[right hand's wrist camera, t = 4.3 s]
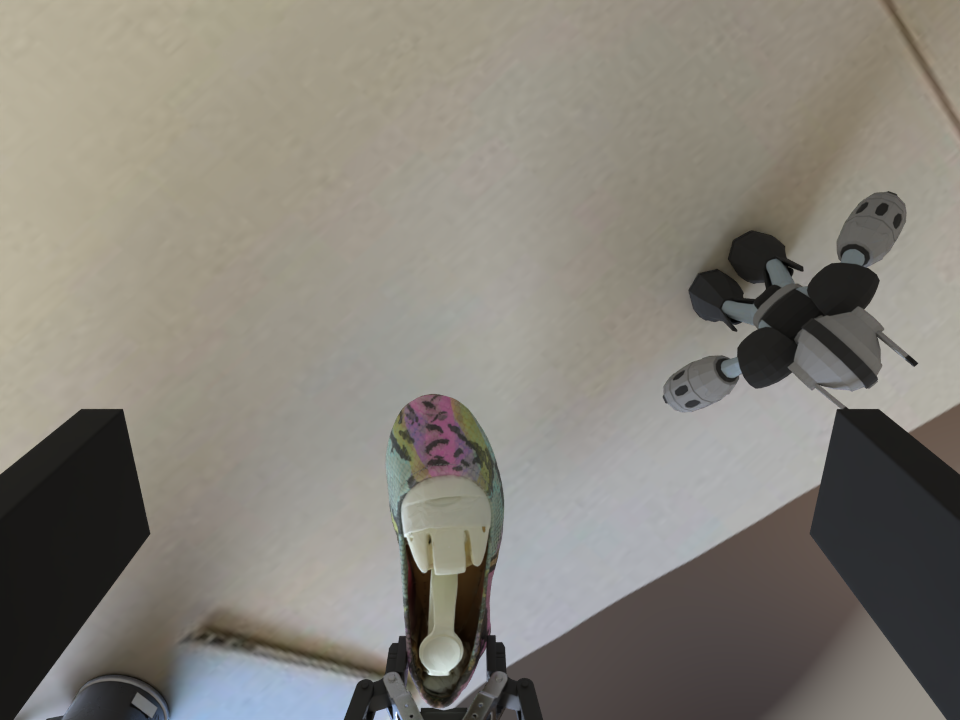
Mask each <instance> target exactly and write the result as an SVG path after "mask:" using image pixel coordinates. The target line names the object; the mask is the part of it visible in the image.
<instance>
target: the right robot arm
mask: <svg viewBox="0 0 960 720" xmlns="http://www.w3.org/2000/svg"><path fill="white" fill-rule="evenodd" d="M149 535H150V530H149V526H148V521H147V517H146V512H145V507H144V503H143V498H142V494H141V489H140V485H139V480H138V476H137V471H136V466H135V462H134V457H133V453H132V448H131V444H130V439H129V434H128V430H127V425H126V421H125V416H124V412H123V409H81V410H80V411H78V412H77V413H76V414H75V415H73V416H72V417H71V418H70V419H69V420H67V421H66V422H65V423H64V424H62V425H61V426H60V427H59V428H57V429H56V430H55V431H54V432H52V433H51V434H50V435H49V436H47V437H46V438H45V439H44V440H43V441H41V442H40V443H39V444H38V445H36V446H35V447H34V448H33V449H31V450H30V451H29V452H28V453H26V454H25V455H24V456H23V457H21V458H20V459H19V460H18V461H17V462H15V463H14V464H13V465H12V466H10V467H9V468H8V469H7V470H5V471H4V472H3V473H2V474H0V720H13V719H14V718H15V717H16V715H17V714H18V713H19V711H20V710H21V708H22V707H23V706H24V704H25V703H26V702H27V700H28V699H29V698H30V696H31V695H32V694H33V692H34V691H35V689H36V688H37V687H38V685H39V684H40V683H41V681H42V680H43V679H44V677H45V676H46V675H47V673H48V672H49V670H50V669H51V668H52V666H53V665H54V664H55V662H56V661H57V660H58V658H59V657H60V656H61V654H62V653H63V652H64V650H65V649H66V647H67V646H68V645H69V643H70V642H71V641H72V639H73V638H74V637H75V635H76V634H77V633H78V631H79V630H80V628H81V627H82V626H83V624H84V623H85V622H86V620H87V619H88V618H89V616H90V615H91V614H92V612H93V611H94V609H95V608H96V607H97V605H98V604H99V603H100V601H101V600H102V599H103V597H104V596H105V595H106V593H107V592H108V590H109V589H110V588H111V586H112V585H113V584H114V582H115V581H116V580H117V578H118V577H119V576H120V574H121V573H122V572H123V570H124V569H125V567H126V566H127V565H128V563H129V562H130V561H131V559H132V558H133V557H134V555H135V554H136V553H137V551H138V550H139V548H140V547H141V546H142V544H143V543H144V542H145V540H146V539H147V538H148V536H149ZM810 535H811V536H812V538H813V539H814V540H815V542H816V543H817V544H818V546H819V547H820V548H821V550H822V551H823V553H824V554H825V555H826V557H827V558H828V559H829V561H830V562H831V563H832V565H833V566H834V567H835V569H836V570H837V572H838V573H839V574H840V576H841V577H842V578H843V580H844V581H845V582H846V584H847V585H848V586H849V588H850V589H851V590H852V592H853V593H854V595H855V596H856V597H857V598H858V600H859V601H860V603H861V604H862V605H863V607H864V608H865V609H866V611H867V612H868V614H869V615H870V616H871V618H872V619H873V620H874V622H875V623H876V624H877V626H878V627H879V628H880V630H881V631H882V632H883V634H884V635H885V637H886V638H887V639H888V641H889V642H890V643H891V645H892V646H893V647H894V649H895V650H896V652H897V653H898V654H899V656H900V657H901V658H902V660H903V661H904V662H905V664H906V665H907V666H908V668H909V669H910V670H911V672H912V673H913V675H914V676H915V677H916V679H917V680H918V681H919V683H920V684H921V685H922V687H923V688H924V689H925V691H926V692H927V693H928V695H929V696H930V698H931V699H932V700H933V702H934V703H935V704H936V706H937V707H938V708H939V710H940V711H941V712H942V714H943V715H944V717H945V718H946V719H947V720H960V474H958V473H957V472H956V471H955V470H953V469H952V468H951V467H950V466H948V465H947V464H946V463H945V462H943V461H942V460H941V459H940V458H939V457H937V456H936V455H935V454H934V453H932V452H931V451H930V450H929V449H927V448H926V447H925V446H924V445H922V444H921V443H920V442H919V441H917V440H916V439H915V438H914V437H913V436H911V435H910V434H909V433H908V432H906V431H905V430H904V429H903V428H901V427H900V426H899V425H898V424H896V423H895V422H894V421H893V420H891V419H890V418H889V417H888V416H887V415H885V414H884V413H883V412H882V411H880V410H879V409H837V412H836V416H835V421H834V425H833V430H832V434H831V439H830V444H829V448H828V453H827V457H826V462H825V466H824V471H823V475H822V480H821V485H820V489H819V494H818V498H817V503H816V507H815V512H814V517H813V521H812V526H811V530H810Z"/></svg>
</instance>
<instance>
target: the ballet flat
mask: <svg viewBox="0 0 960 720" xmlns="http://www.w3.org/2000/svg"><path fill="white" fill-rule="evenodd" d="M386 473H387V483H388V492H389V503H390V511H391V517H392V523H393V526H394V530H395V532H396V534H397V539H398V543H399V548H400V559H401V573H402V587H403V606H404V618H405V630H406V649H407V661H408V666H409V671H410V674H411V677H412V680H413V682H414V684H415V686H416V688H417V690H418V691H419V693H420V695H421V697H422V698H423V699H424V700H425V702H426V703H427V704H429V705H430V706H431V707H433V708H445V707H447V706H449V705H451V704H452V703H453V702H454V701H455V700H456V699H457V698H458V697H459V695H460V693H461V692H462V691H463V690H464V689H465V688H466V686H467V685H468V683H469V681H470V680H471V678H472V676H473V673H474V671H475V669H476V666H477V664H478V661H479V659H480V657H481V656H482V654H483V653H484V651H485V649H486V635H490V633H491V624H490V604H489V602H490V590H491V582H492V577H493V574H494V570H495V566H496V563H497V559H498V553H499V548H500V544H501V539H502V533H503V519H504V495H503V488H502V482H501V478H500V473H499V470H498V467H497V462H496V459H495V456H494V453H493V450H492V447H491V445H490V443H489V440H488V438H487V436H486V435H485V433H484V431H483V429H482V428H481V426H480V425H479V423H478V422H477V420H476V418H475V417H474V416H473V414H472V413H471V412H470V411H469V409H468V408H466V407H465V406H464V405H463V404H461V403H460V402H459V401H457V400H455V399H453V398H450V397H447V396H443V395H437V394H430V395H424V396H421V397H419V398H416V399H415V400H413V401H411V402H410V403H408V404H407V405H406V406H405V407H404V408H403V409H402V410H401V412H400V413H399V415H398V417H397V419H396V421H395V423H394V426H393V428H392V431H391V434H390V438H389V442H388V447H387V453H386Z"/></svg>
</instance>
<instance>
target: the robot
mask: <svg viewBox="0 0 960 720" xmlns="http://www.w3.org/2000/svg"><path fill="white" fill-rule="evenodd" d="M905 222H906V207H905V203H904V202H903V201H902V200H901V199H900V198H899V197H898V196H897V194H895V193H892V192H889V191H888V192H880V193H874V194H872V195H871V196H869V197H867V198H866V199H864V200H863V201H861V202H860V203H859V204H858V206H857V207H856V208H855V209H854V211H853V212H852V213H851V214H850V216H849V217H848V219H847V220H846V222H845V224H844V226H843V228H842V230H841V232H840V235H839V237H838V239H837V254H838V258H839V260H840V261H841V263H831V264H830V265H828V266H826V267H824V268H823V269H822V270H821V271H820V272H818V273H817V274H816V275H815V276H814V277H813V278H812V280H811V282H810V283H809V285H808V287H802V286H801V285H799V284H795V283H794V281H793V279H792V275H793V269H792V268H794V269H796V270H799V271H803V266H801V265H799V264H797V263H795V262H793V261H791V260H789V259H787V258H786V253H785V246H784V245H783V244H782V243H781V242H780V241H779V240H777V239H776V238H774V237H773V236H771V235H767V234H764V233H760V232H756V231H752V230H751V231H749V232H747V233H746V234H744V235H742V236H740V237H738V238H736V239H735V240H733V243H732V247H731V250H730V254H729V258H728V260H729V261H730V263H731V264H732V266H733V268H734V269H735V271H736V272H737V274H738V275H739V276H740V277H741V278H743V279H744V280H746V281H747V282H750V283H753V284H755V283H764V282H765V286H766V290H765V291H764V292H763V293H762V294H761V295H760V296H759V297H757V298H756V299H746V298H743V294H744V293H743V291H742V289H741V287H740V286H739V284H738V283H737V282H736V281H735V280H733V279H732V278H730V277H729V276H727V275H726V274H724V273H722V272H721V271H719V270H718V269H716V270H712V271H708V272H703V273H699V274H698V275H697V277H696V279H695V280H694V282H693V284H692V285H691V287H690V289H689V294H690V298H691V302H692V305H693V309H694V310H695V312H696V313H697V314H698V315H699V317H701V318H702V319H704V320H709V321H713V322H717V321H724V322H725V323H726V324H727V326H728V327H729V328H730V329H731V330H732V331H736V332H737V329H736V328H735V327H734V326H733V325H736V324H739V323H741V322H745V323H748V324H751V325H755V326H756V327H757V328H758V330H756V331H754V332H752V333H751V334H750V335H749V336H747V337H746V338H745V339H744V340H743V341H742V342H741V344H740V345H739V347H738V350H737V357H736V358H732V359H730V358H728V357H725V356H709V357H705V358H702V359H701V360H698V361H694V362H692V363H690V364H688V365H686V366H685V367H683V368H681V369H680V370H679V371H677V372H676V373H674V374H673V375H672V376H671V377H670V378H669V379H668V380H667V382H666V384H665V385H664V395H663V399H664V401H665V403H668V404H669V405H670V406H671V407H672V408H673V409H674V410H677V411H680V412H692V411H695V410H698V409H701V408H704V407H706V406H709V405H711V404H713V403H715V402H717V401H719V400H721V399H722V398H723V397H725V396H726V395H727V394H729V393H730V392H731V391H732V389H733V388H734V386H735V385H736V383H737V381H738V380H739V375H740V374H743V376H744V378H745V379H746V381H747V382H748V383H749V384H750V385H751V386H752V387H754V388H763V387H767V386H769V385H772V384H774V383H777V382H779V381H780V380H782V379H784V378H785V377H787V376H788V375H789V374H791V373H792V372H793V373H794V374H795V375H796V376H797V377H798V378H799V379H800V380H801V381H802V382H803V383H804V384H805V385H806V386H807V387H808V388H809V389H811V390H813V389H814V388H816V389H817V390H819V391H820V392H821V393H822V394H823V395H825V396H826V397H827V398H828V399H830V400H831V401H832V402H833V403H835V404H836V405H837V406H838V407H839V408H841V409H848V408H847V407H846V406H844V405H843V404H842V403H841V402H839V401H838V400H837V399H836V398H834V397H833V396H832V395H831V394H829V393H828V392H827V391H826V390H824V389H823V388H822V387H821V386H825V387H828V388H832V389H840V390H850V391H855V390H857V389H860V388H863V387H865V388H866V389H867V388H868V389H870V388H871V387H872V386H873V385H874V384H876V383H877V382H878V381H877V380H878V378H877V374H878V373H879V371H880V369H881V367H882V364H881V350H880V346H879V342H878V338H880V339H881V340H882V341H883V342H884V343H886V344H887V345H888V346H889V347H890V348H892V349H893V350H894V351H895V352H897V353H898V354H899V355H900V356H901V357H903V358H904V359H905V360H906V361H907V362H909V363H910V364H911V365H912V366H916V365H917V364H918V363H917V362H916V361H915V360H914V359H913V358H912V357H910V356H909V355H908V354H907V353H906V352H905V351H903V350H902V349H901V348H900V347H899V346H898V345H896V344H895V343H894V342H893V341H892V340H890V339H889V338H888V337H887V336H886V335H885V334H883V333H882V331H883V330H884V328H883V326H882V325H881V324H880V323H879V322H878V321H877V320H876V319H875V318H874V317H873V316H871V315H870V314H869V313H868V312H867V311H865V310H864V309H865V308H866V307H867V305H868V304H869V303H870V301H871V300H872V298H873V296H874V294H875V292H876V290H877V287H878V284H879V281H880V280H879V278H878V276H877V274H875V273H874V272H873V271H871V270H870V269H869V268H866V267H868V266H870V265H872V264H874V263H876V262H878V261H880V260H882V259H883V257H884V256H885V255H886V254H887V253H888V252H889V251H890V249H891V248H892V246H893V245H894V243H895V241H896V240H897V238H898V236H899V234H900V232H901V230H902V228H903V226H904V224H905ZM788 266H789V267H788ZM790 267H791V268H790ZM877 337H878V338H877ZM819 385H821V386H819Z"/></svg>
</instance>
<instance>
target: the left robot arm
mask: <svg viewBox="0 0 960 720" xmlns="http://www.w3.org/2000/svg"><path fill="white" fill-rule="evenodd" d="M486 660H487V684H486V685H485V687H484V689H483V690H482V692H481V691H479V692H478V694H477V695H476V697H475V699H474V700H473V702H472V704H471V706H470V707H469V709H468V711H467V708H453V709H449V710H439V709H435V708H421V712H419V709H418V707H417V705H416V703H415V701H414V699H413V697H412V695H411V693H410V692H408V691H407V689H406V684H407V675H408V661H407V649H406V636H399V642H398V643H392V645H391V646H390V648H389V652H388V659H387V665H386V672H385V675H384V677H383V678H382V679H381V680H379V681H376V682H372V681H371V680H368V679H364V680H361V681H360V682H359V683H358V684H357V686H356V688H355V691H354V694H353V697H352V699H351V702H350V705H349V707H348V710H347V713H346V716H345V718H344V720H373V719H374V716H375V712H376V711H378V710H381V709H385V708H386V709H387V712H388V714H389V716H390V719H391V720H500V718H501V716H502V714H503V712H504V710H505V708H509V709H512V710H516V714H517V718H518V720H543V718H542V714H541V710H540V707H539V703H538V699H537V695H536V692H535V688H534V684H533V682H532V681H531V680H530V679H527V678H522V679H520V680H518V681H515V680H512V679H510V678H509V677H508V676H507V673H506V658H505V646H504V645H503V643H502V642H496V636H495V635H486ZM168 719H169V710H168V706H167V704H166V702H165V700H164V699H163V697H162V696H161V695H160V694H159V693H158V692H157V691H156V690H155V689H154V688H153V687H151V686H150V685H148V684H146V683H144V682H142V681H140V680H138V679H135V678H132V677H128V676H122V675H106V676H101V677H97V678H94V679H92V680H90V681H89V682H87V683H86V684H85V685H84V686H83V687H82V688H81V689H80V691H79V692H78V694H77V695H76V697H75V699H74V702H73V703H72V705H71V706H70V707H69V708H68V710H67V711H66V713H65V714H64V716H59V717H54V718H48V719H46V720H168Z"/></svg>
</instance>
